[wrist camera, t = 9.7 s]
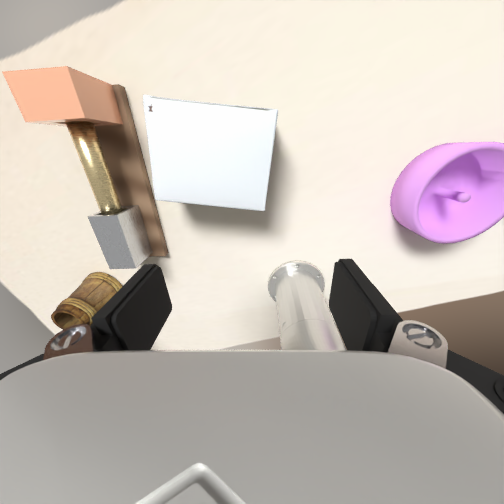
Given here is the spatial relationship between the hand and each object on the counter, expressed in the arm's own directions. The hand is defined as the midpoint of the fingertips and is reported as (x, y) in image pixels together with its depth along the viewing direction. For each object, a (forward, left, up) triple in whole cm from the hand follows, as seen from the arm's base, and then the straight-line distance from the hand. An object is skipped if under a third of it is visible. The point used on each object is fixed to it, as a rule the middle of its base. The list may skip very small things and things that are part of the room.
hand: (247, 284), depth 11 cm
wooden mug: (-24, +37, -31) cm, 54 cm away
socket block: (+14, +25, -29) cm, 40 cm away
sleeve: (-7, +25, -29) cm, 39 cm away
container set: (0, -37, -31) cm, 48 cm away
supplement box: (+5, +6, -31) cm, 32 cm away
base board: (+2, +25, -30) cm, 39 cm away
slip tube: (+4, +25, -26) cm, 37 cm away
